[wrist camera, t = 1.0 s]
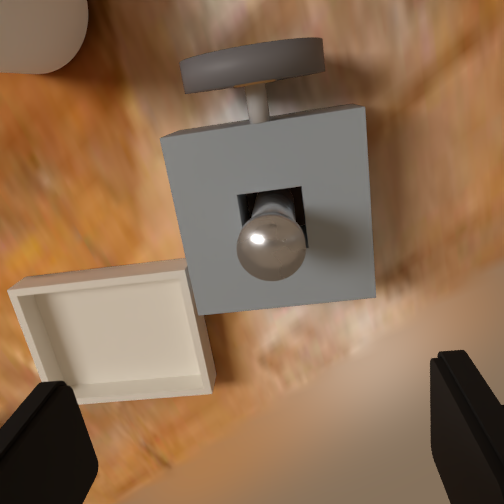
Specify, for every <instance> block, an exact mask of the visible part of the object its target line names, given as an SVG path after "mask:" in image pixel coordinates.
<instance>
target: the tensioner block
mask: <svg viewBox="0 0 504 504" xmlns="http://www.w3.org/2000/svg"><path fill="white" fill-rule="evenodd" d="M179 64H180V69H181V75H182V80H183V85H184V90H185V94H189V93H198V92H205V91H212V90H219V89H226V88H232V87H234V88H237V87H245V94H246V101H247V107H248V114H249V120H244V121H237V122H231V123H224V124H218V125H211V126H205V127H198V128H192V129H185V130H179V131H176V132H174V133H171V134H169V135H166V136H164V137H161V138H160V142H161V146H162V151H163V156H164V160H165V165H166V169H167V174H168V179H169V183H170V188H171V192H172V197H173V201H174V206H175V211H176V215H177V220H178V224H179V229H180V234H181V238H182V243H183V247H184V252H185V257H186V261H187V266H188V270H189V275H190V279H191V284H192V289H193V293H194V298H195V302H196V307H197V312H198V316H200V315H210V314H219V313H229V312H239V311H249V310H259V309H269V308H278V307H288V306H298V305H308V304H318V303H328V302H337V301H347V300H357V299H367V298H376V285H375V268H374V251H373V234H372V217H371V199H370V182H369V165H368V148H367V131H366V113H365V107H364V106H359V105H355V104H348V105H341V106H335V107H328V108H322V109H315V110H309V111H302V112H296V113H289V114H283V115H276V116H269V109H268V101H267V93H266V86H265V83H269V82H274V81H276V80H281V79H287V78H293V77H299V76H304V75H309V74H314V73H319V72H324V71H325V64H324V52H323V40H322V38H296V39H287V40H278V41H271V42H264V43H257V44H251V45H245V46H240V47H234V48H229V49H224V50H219V51H214V52H210V53H206V54H202V55H198V56H194V57H191V58H188V59H185V60H182V61H181V62H179ZM299 186H301V193H302V202H303V210H304V219H305V225H299V226H300V227H301V229H302V231H303V234H304V237H305V243H306V255H305V258H304V261H303V263H302V265H301V267H300V268H299V269H298V270H297V271H296V272H295V273H294V274H293V275H291V276H290V277H288V278H285V279H283V280H279V281H264V280H260V279H258V278H255V277H254V276H252V275H250V274H249V273H248V272H247V271H246V270H245V269H244V268H243V267H242V265H241V264H240V262H239V259H238V256H237V250H236V248H237V240H238V237H239V234H240V231H241V229H242V227H243V226H244V224H245V223H246V222H247V221H248V220H249V219H250V215H249V209H248V203H247V196H246V194H247V193H254V192H262V191H269V190H277V189H284V188H292V187H299Z"/></svg>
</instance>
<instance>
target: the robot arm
mask: <svg viewBox="0 0 504 504" xmlns="http://www.w3.org/2000/svg"><path fill="white" fill-rule="evenodd" d="M430 403H431V404H430V406H431V407H430V408H431V450H432V455H433V458H434V462H435V464H436V467H437V469H438V472H439V474H440V477H441V480H442V482H443V485H444V487H445V490H446V493H447V495H448V498H449V500H450V503H451V504H504V405H501V404H500V402H499V401H498V399H497V398H496V397H495V395H494V394H493V392H492V390H491V389H490V387H489V386H488V384H487V383H486V381H485V380H484V378H483V377H482V375H481V374H480V372H479V371H478V369H477V368H476V366H475V365H474V363H473V362H472V360H471V359H470V357H469V356H468V354H467V353H466V352H465V351H464V350H455V351H443V352H442V351H441V352H439V353H438V358H432V359H431V361H430ZM97 472H98V460H97V457H96V454H95V451H94V448H93V446H92V443H91V440H90V437H89V434H88V431H87V428H86V426H85V423H84V420H83V417H82V414H81V411H80V408H79V406H78V403H77V400H76V397H75V394H74V391H73V389H72V387H71V386H67V384H66V383H65V382H64V381H48V382H41V383H39V384H38V385H37V386H36V387H35V388H34V390H33V391H32V392H31V393H30V394H29V396H28V397H27V398H26V399H25V400H24V401H23V403H22V404H21V405H20V406H19V407H18V408H17V410H16V411H15V412H14V413H13V414H12V416H11V417H10V418H9V419H8V420H7V421H6V423H5V424H4V425H3V426H2V427H1V429H0V504H83V502H84V500H85V498H86V496H87V494H88V492H89V490H90V488H91V486H92V484H93V482H94V480H95V478H96V475H97Z"/></svg>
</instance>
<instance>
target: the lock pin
mask: <svg viewBox="0 0 504 504" xmlns="http://www.w3.org/2000/svg"><path fill="white" fill-rule="evenodd" d="M236 250H237V256H238V259H239V262H240V264H241V265H242V267H243V268H244V269H245V270H246V271H247V272H248V273H249V274H250V275H252V276H254V277H255V278H258V279H260V280H264V281H279V280H283V279H285V278H288V277H290V276H291V275H293V274H294V273H295V272H296V271H297V270H298V269H299V268H300V267H301V265H302V263H303V261H304V258H305V255H306V243H305V237H304V234H303V231H302V229H301V227H300V226H299V225H298V223H297V222H296V217H295V206H294V197H293V194H292V193H291V191H290V190H289V189H288V188H284V189H277V190H269V191H262V192H258V194H257V197H256V201H255V205H254V209H253V213H252V217H251V219H249V220H248V221H247V222H246V223H245V224H244V226H243V227H242V229H241V231H240V234H239V237H238V240H237V248H236Z"/></svg>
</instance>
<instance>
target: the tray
mask: <svg viewBox="0 0 504 504" xmlns="http://www.w3.org/2000/svg"><path fill="white" fill-rule="evenodd" d="M7 292H8V294H9V297H10V299H11V302H12V305H13V307H14V310H15V313H16V315H17V318H18V320H19V323H20V326H21V328H22V331H23V334H24V336H25V339H26V342H27V344H28V347H29V349H30V352H31V355H32V357H33V360H34V363H35V365H36V368H37V370H38V373H39V376H40V378H41V381H42V382H48V381H64V382H65V383H66V384H67V386H71V387H72V389H73V391H74V394H75V397H76V400H77V403H78V404H91V403H103V402H116V401H128V400H141V399H153V398H166V397H178V396H191V395H203V394H212V392H213V388H214V384H215V379H216V375H217V374H216V370H215V365H214V360H213V356H212V351H211V346H210V341H209V337H208V332H207V327H206V323H205V318H204V315H200V316H198V312H197V307H196V302H195V298H194V293H193V289H192V284H191V279H190V275H189V270H188V266H187V261H186V258H181V259H173V260H164V261H156V262H147V263H139V264H130V265H122V266H113V267H105V268H97V269H88V270H80V271H71V272H63V273H54V274H46V275H37V276H29V277H24V278H23V279H22V280H20V281H19V282H18V283H16V284H15V285H13V286H12V287H11V288H9V289H8V290H7Z"/></svg>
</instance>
